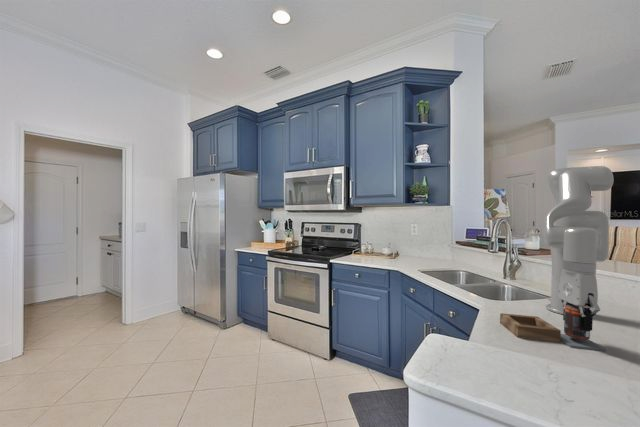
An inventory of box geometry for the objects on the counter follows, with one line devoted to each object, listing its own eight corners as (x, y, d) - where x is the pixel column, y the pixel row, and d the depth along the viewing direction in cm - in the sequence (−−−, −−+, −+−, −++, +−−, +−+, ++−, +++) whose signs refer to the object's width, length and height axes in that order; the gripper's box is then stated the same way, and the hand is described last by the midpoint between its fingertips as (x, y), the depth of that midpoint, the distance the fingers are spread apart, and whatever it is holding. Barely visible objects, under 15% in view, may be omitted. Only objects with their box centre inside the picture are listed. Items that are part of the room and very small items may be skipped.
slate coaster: (550, 334, 90) (550, 332, 90) (582, 337, 88) (582, 335, 88) (570, 347, 81) (570, 345, 81) (605, 351, 80) (605, 349, 80)
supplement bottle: (595, 341, 82) (596, 304, 82) (572, 339, 83) (573, 302, 83) (580, 333, 87) (581, 298, 87) (559, 331, 89) (560, 296, 89)
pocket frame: (499, 322, 99) (500, 313, 99) (537, 326, 97) (537, 316, 97) (517, 337, 87) (517, 326, 87) (560, 341, 85) (560, 330, 85)
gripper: (547, 262, 94) (546, 314, 94) (586, 272, 77) (584, 335, 77) (572, 263, 93) (571, 316, 93) (617, 274, 76) (615, 339, 76)
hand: (577, 324), depth 85 cm, fingers closed on supplement bottle, 5 cm apart
